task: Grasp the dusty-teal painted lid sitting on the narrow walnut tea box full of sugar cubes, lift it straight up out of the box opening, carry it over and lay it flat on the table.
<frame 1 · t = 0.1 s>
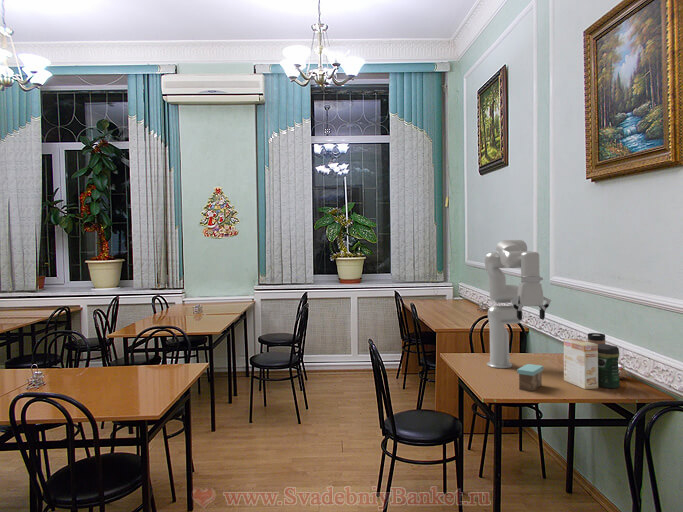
hand: (530, 319, 216), 31 cm above the table, tool pointing down, fingers open, 9 cm apart
lid: (530, 371, 221), point 7 cm above the table, touching tea box
coffee jar: (607, 386, 221), on the table
travel mug: (596, 376, 238), on the table
tea box: (530, 387, 221), on the table
coffeecake box: (580, 384, 224), on the table
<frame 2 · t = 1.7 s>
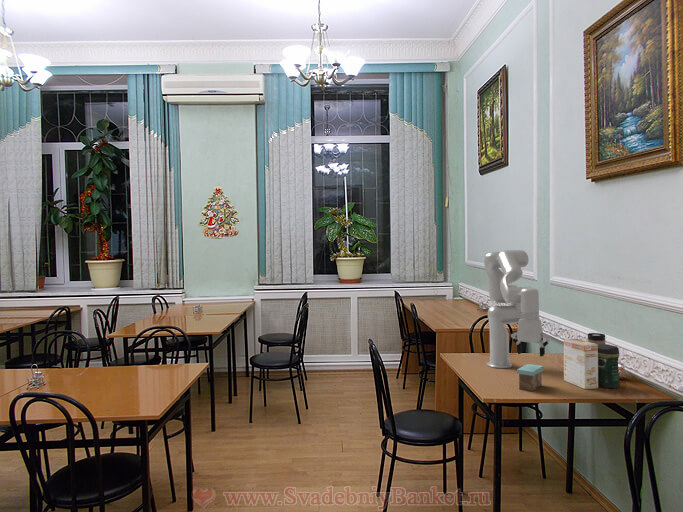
hand: (530, 354, 220), 15 cm above the table, tool pointing down, fingers open, 9 cm apart
nothing on the table moved.
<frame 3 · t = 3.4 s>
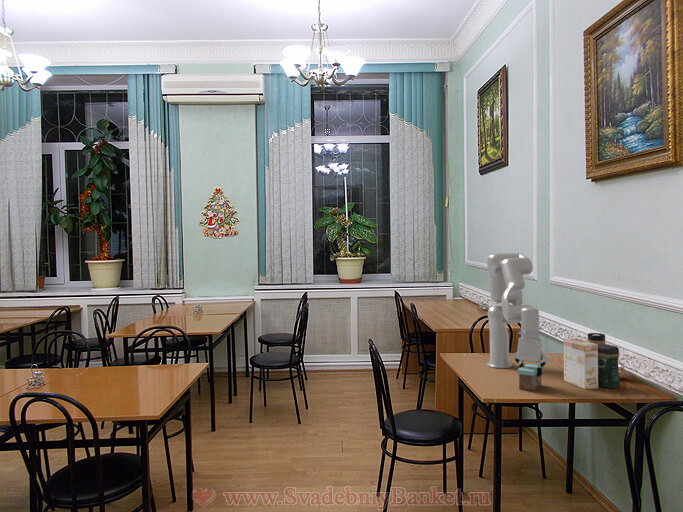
hand: (530, 374, 221), 6 cm above the table, tool pointing down, fingers closed on lid, 7 cm apart
lid: (530, 371, 221), point 7 cm above the table, touching gripper, tea box
everything else where it was.
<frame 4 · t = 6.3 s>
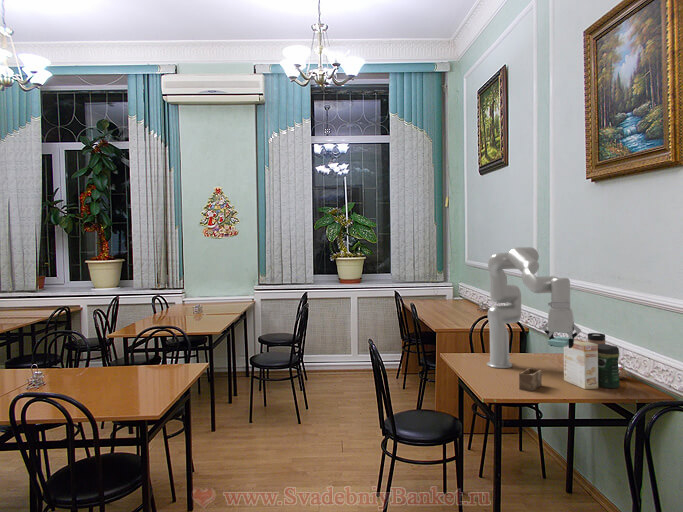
hand: (561, 346, 216), 19 cm above the table, tool pointing down, fingers closed on lid, 7 cm apart
lid: (561, 343, 216), point 20 cm above the table, touching gripper
everything else where it was.
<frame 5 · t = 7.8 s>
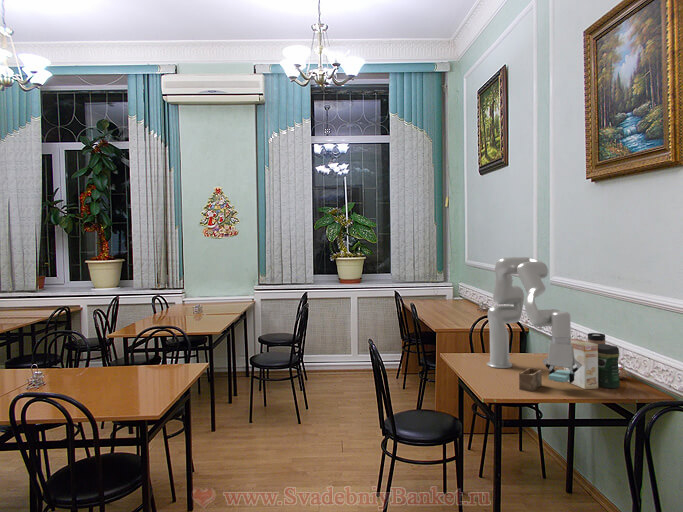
hand: (562, 380, 216), 4 cm above the table, tool pointing down, fingers closed on lid, 7 cm apart
lid: (561, 377, 216), point 5 cm above the table, touching gripper
everything else where it was.
when the fingers open (1 cm above the table, at t = 9.2 s): lid drops 2 cm, point 1 cm above the table.
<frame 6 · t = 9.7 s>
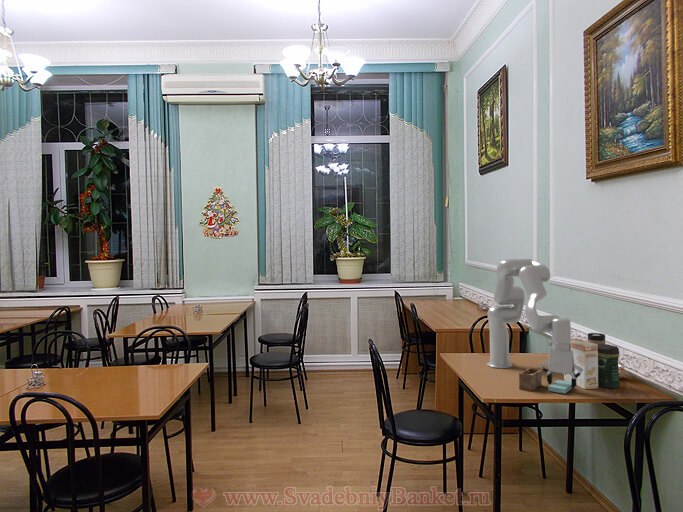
hand: (561, 385, 216), 2 cm above the table, tool pointing down, fingers open, 9 cm apart
lid: (561, 388, 216), point 1 cm above the table
everything else where it was.
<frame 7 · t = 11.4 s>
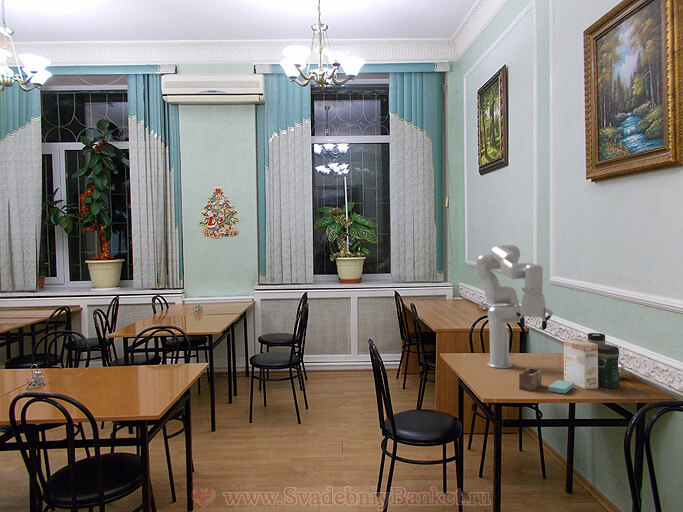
hand: (533, 328, 229), 25 cm above the table, tool pointing down, fingers open, 9 cm apart
nothing on the table moved.
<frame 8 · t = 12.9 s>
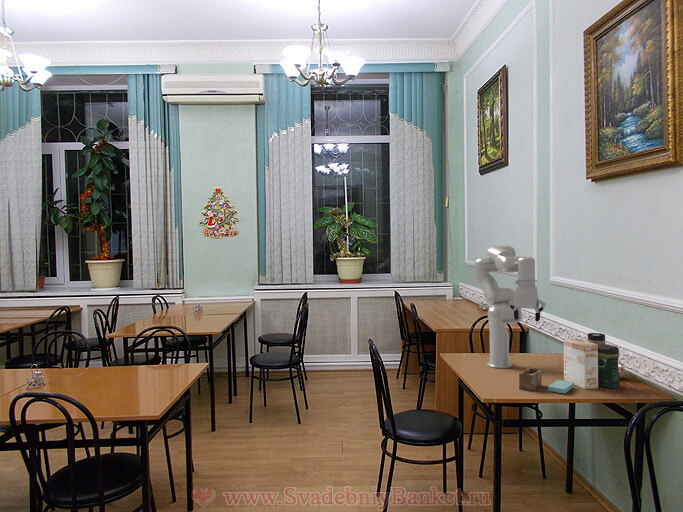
hand: (526, 320, 231), 28 cm above the table, tool pointing down, fingers open, 9 cm apart
nothing on the table moved.
at the end: lid inside the target area (0.1 cm from its centre), point 0.6 cm above the table; lid tilted 0°; lid touching table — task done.
